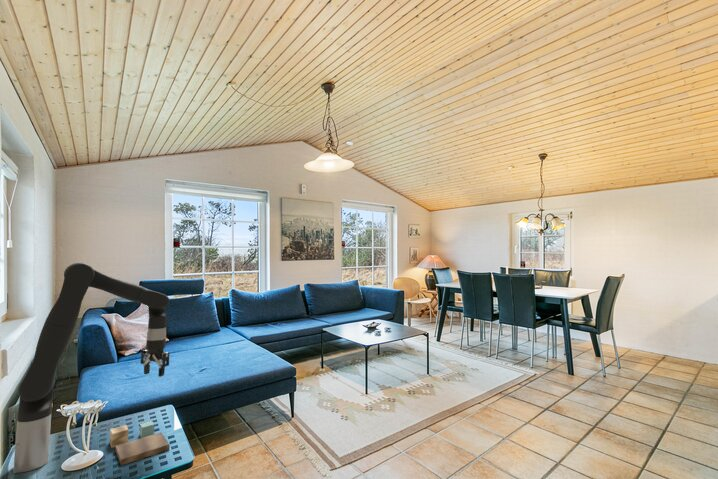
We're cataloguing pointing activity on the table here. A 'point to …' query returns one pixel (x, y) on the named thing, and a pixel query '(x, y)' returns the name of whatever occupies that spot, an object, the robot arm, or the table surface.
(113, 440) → the oak block
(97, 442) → the table surface
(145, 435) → the teal block
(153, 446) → the walnut board
